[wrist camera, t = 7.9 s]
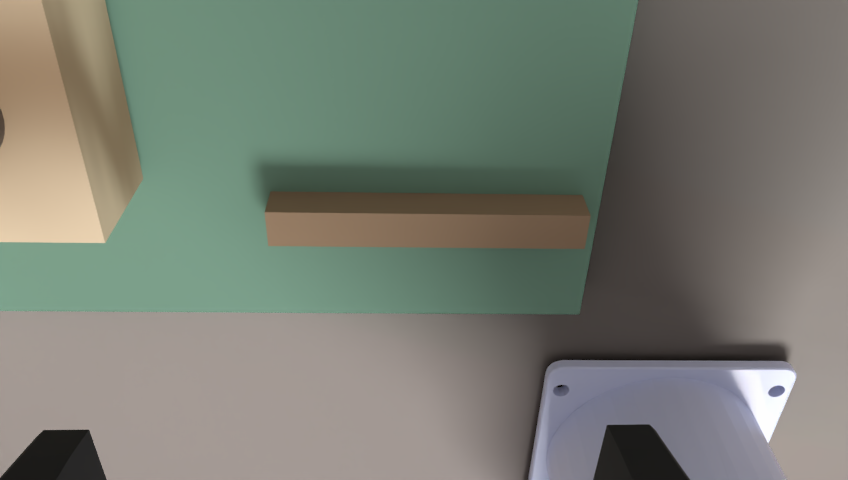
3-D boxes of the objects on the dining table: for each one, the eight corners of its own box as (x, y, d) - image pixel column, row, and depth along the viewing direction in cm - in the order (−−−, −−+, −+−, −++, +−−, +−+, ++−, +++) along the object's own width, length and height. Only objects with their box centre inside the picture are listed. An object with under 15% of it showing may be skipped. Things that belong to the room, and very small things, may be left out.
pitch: (573, 293, 22) (586, 337, 20) (-216, 287, 21) (-268, 333, 20) (685, -343, 14) (724, -354, 12) (-609, -389, 13) (-757, -407, 11)
